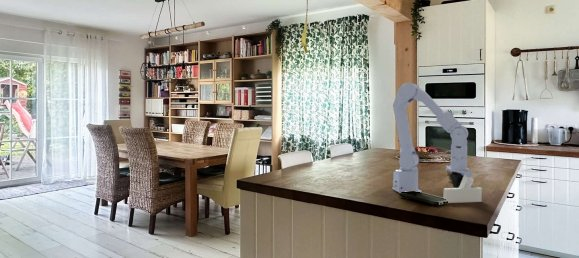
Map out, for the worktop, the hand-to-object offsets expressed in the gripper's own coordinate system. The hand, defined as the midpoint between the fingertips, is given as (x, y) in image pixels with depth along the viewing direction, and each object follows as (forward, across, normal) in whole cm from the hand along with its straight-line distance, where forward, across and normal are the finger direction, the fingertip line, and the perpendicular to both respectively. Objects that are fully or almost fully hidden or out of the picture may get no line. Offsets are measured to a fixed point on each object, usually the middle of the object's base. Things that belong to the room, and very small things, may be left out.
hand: (457, 192), depth 146 cm
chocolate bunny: (+2, +26, -15) cm, 30 cm away
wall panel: (+2, -8, +3) cm, 9 cm away
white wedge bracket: (+1, -2, -1) cm, 3 cm away
